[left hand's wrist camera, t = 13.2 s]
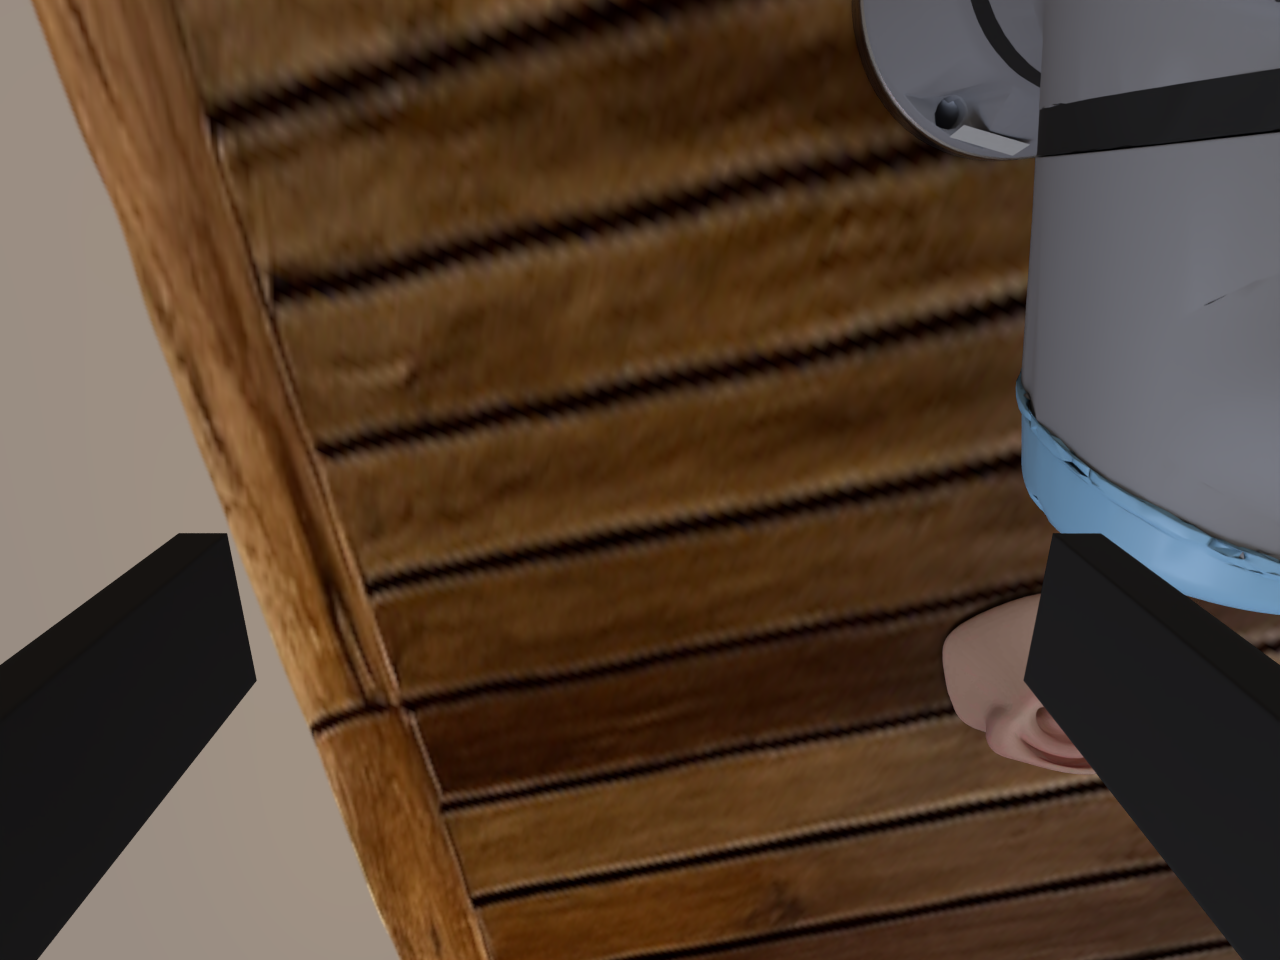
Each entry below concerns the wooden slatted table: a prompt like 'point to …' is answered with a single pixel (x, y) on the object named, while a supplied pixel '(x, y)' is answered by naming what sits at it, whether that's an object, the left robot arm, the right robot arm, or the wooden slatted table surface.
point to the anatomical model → (1005, 688)
